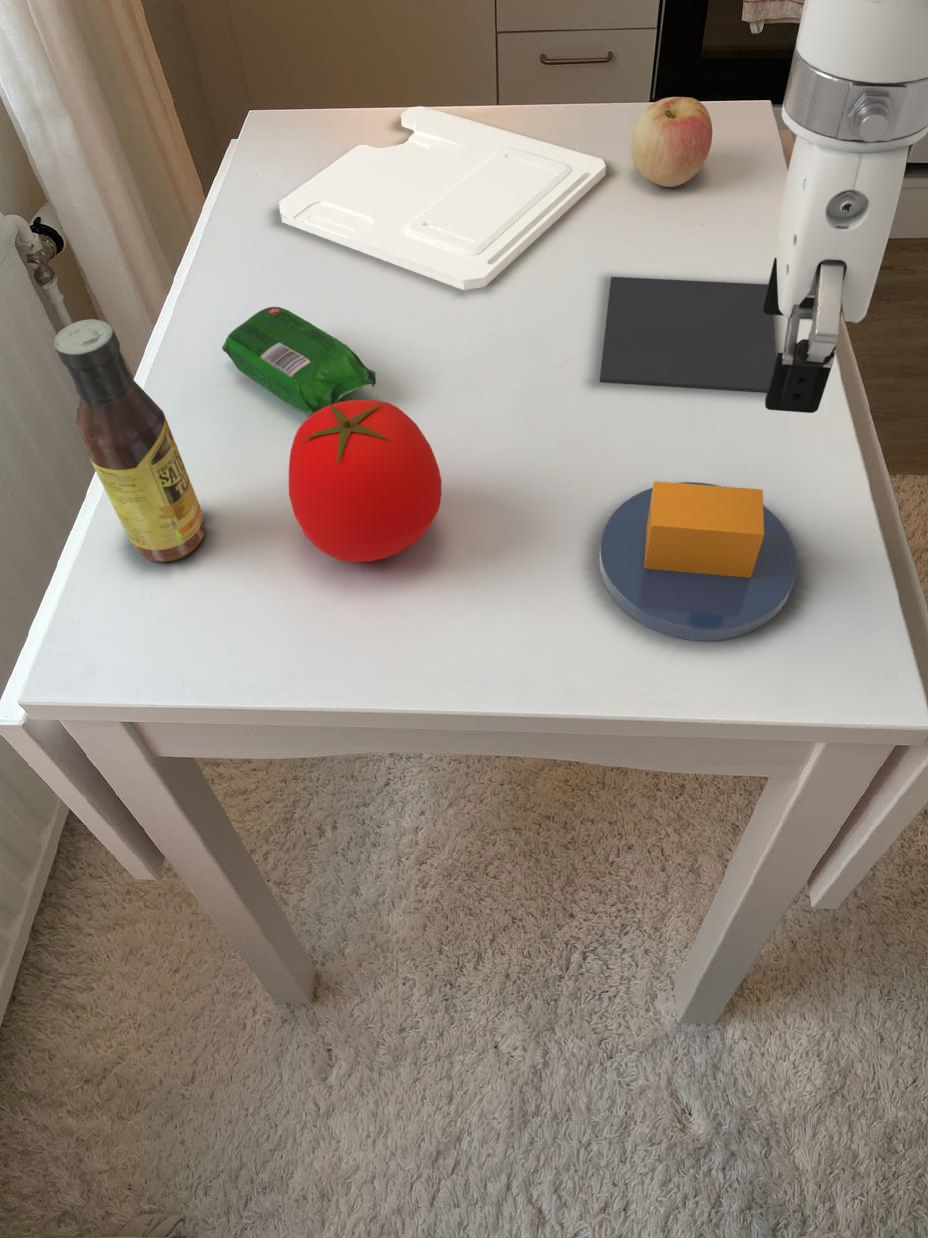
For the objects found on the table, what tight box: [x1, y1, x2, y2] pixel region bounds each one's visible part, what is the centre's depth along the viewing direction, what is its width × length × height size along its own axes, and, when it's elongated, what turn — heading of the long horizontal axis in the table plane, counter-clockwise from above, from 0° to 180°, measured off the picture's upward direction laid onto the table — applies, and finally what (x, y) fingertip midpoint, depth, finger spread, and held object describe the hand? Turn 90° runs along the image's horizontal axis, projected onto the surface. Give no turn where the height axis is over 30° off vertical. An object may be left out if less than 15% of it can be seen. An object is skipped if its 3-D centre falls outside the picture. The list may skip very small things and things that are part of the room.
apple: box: [630, 96, 713, 188], centre depth 106 cm, size 9×9×8 cm
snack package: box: [221, 306, 377, 415], centre depth 88 cm, size 7×16×5 cm, turn 46°
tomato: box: [288, 399, 442, 563], centre depth 74 cm, size 12×12×13 cm
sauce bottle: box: [53, 318, 206, 563], centre depth 72 cm, size 6×6×20 cm
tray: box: [278, 105, 607, 291], centre depth 109 cm, size 28×28×2 cm
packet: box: [644, 480, 764, 578], centre depth 72 cm, size 8×4×5 cm, turn 81°
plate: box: [598, 481, 798, 642], centre depth 75 cm, size 15×15×2 cm
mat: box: [599, 276, 777, 393], centre depth 92 cm, size 16×16×1 cm
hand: (788, 358), depth 63 cm, fingers open, 9 cm apart
